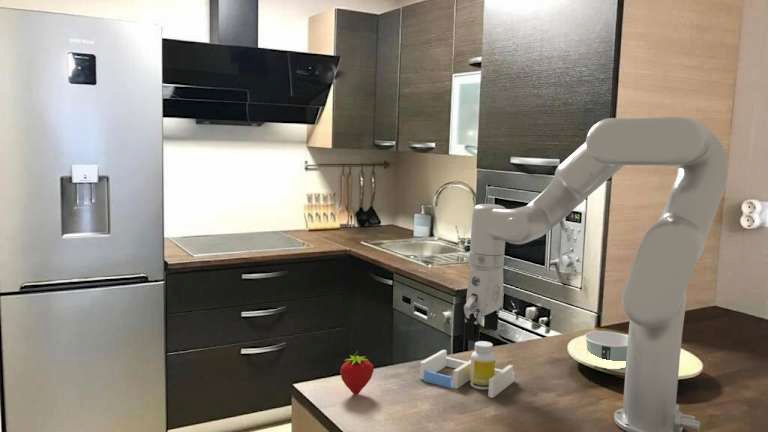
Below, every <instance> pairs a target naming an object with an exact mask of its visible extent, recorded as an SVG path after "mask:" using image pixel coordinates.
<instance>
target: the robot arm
mask: <svg viewBox="0 0 768 432" xmlns="http://www.w3.org/2000/svg"><path fill="white" fill-rule="evenodd" d="M585 138H586V139H585V142H584V143H583V144H581V145H580V146H579V147H578V148H577V149H576V150H574V152H573V153H572V154H571V155H569V156H567V158H566V159H565V160H563V161H562V162H561V163H560V164H559V165H558V166H557V167H556V169H555V171H554V177H553V179H552V180H551V182H550V184H549V185H548V186H547V187H546V188H545V189H544V190H543V191H542V192H541V193H540V194H539V195H538V196H536V197H535V198H534V199H533V200H532V201H531V202H529V203H528V204H527V205H524V206H519V207H515V208H506V207H505V206H503V205H501V204H496V203H495V204H494V203H479V204H476V205H475V206H474V207H473V210H472V217H471V229H470V230H471V232H470V245H469V262H468V266H469V267H470V269H469V270H470V271H469V275H468V282H467V290H466V298H465V301H466V302H465V304H464V305H463V312H464V322H465V325H464V328H465V330H464V339H465V340H467V341H470V342H475V343H476V342H479V341H480V332H481V331H480V329H481V324H480V319H481V317H482V314H483V315H484V316H483V317H484V318H483V329H484V330H488V331H491V332H492V331H493V332H497V331H498V326H499V325H498V324H499V315H500V311H501V310H500V308H501V307H502V306H503V304H504V264H505V263H504V262H505V249H506V243H509V244H514V245H523V244H526V243H530V242H532V241H534V240H537V239H540V238H542V237H543V236H544V235H546V234H547V233H549V232H550V231H551V230H552V229H553V228H554V227H556V226H557V225H558V224H559V223H560V222H562V221H563V220H564V219H565V218H567V217H568V216H569V214H571V213H572V212H573V211H574V210H575V209H576V208H577V207H578V206H579V205H581V204H582V203H583V202H584V201H585V200H587V198H588V197H589V196H590V195H592V194H593V193H594V192H595V191H597V190H598V189H599V188H600V187H601V186H603V184H605V182H606V181H608V180H609V179H611V178H612V176H613V177H614V176H615V174H616V173H618V172H619V171H620V170H621V169H623V168H624V167H625V166H666V167H667V166H668V167H669V166H670V167H674V166H676V167H677V170H676V171H677V172H676V176H675V179H674V182H673V184H672V186H671V189H670V191H669V195H668V197H667V201H666V204H665V206H664V208H663V210H662V213H661V215H660V218H659V220H657V222H655V223H654V224H653V225H652V226H651V227H649V229H648V230H647V231H646V233H645V234H644V236H643V238H642V240H641V242H640V245H639V247H638V250H637V254H636V255H635V258H634V261H633V263H632V266H631V269H630V272H629V273H628V277H627V279H626V283H625V285H624V288H623V291H622V296H621V302H622V308H623V311H624V313H625V315H626V317H627V318H628V319H629V325H628V333H627V334H628V335H627V336H628V345H627V358H626V368H625V375H624V385H623V386H624V387H623V401H622V407H621V408H619V409H616V410H615V411H614V413H613V422H614V423H615V425H616V426H618V428H621V429H622V430H623V431H625V432H684V431H683V430H684V428H685V429H688V430H691V431H695V432H699V431H700V426H701V421H700V420H696V416H695V415H690V414H685V413H683V412H682V411H680V405H679V404H677V395H678V394H677V393H678V384H679V370H680V359H681V358H680V357H681V353H682V352H681V349H682V339H683V329H684V321H685V313H686V306H687V297H688V296H687V287H688V284H689V283H690V279H691V276H692V274H693V273H694V269H695V267H696V265H697V262H698V260H699V259H700V257H701V256H702V254H703V252H704V250H705V246H706V241H707V239H708V235H709V233H710V229H711V227H712V225H713V222H714V219H715V216H716V214H717V210H718V208H719V205H720V202H721V200H722V197H723V194H724V192H725V189H726V184H727V181H728V176H729V175H728V173H729V162H728V156H727V153H726V150H725V148H724V145H723V144H722V142H721V141H720V139H719V138H718V137H717V135H716V134H715V133H714V132H713V131H712V130H710V129H709V127H707V126H706V125H704V124H703V123H702V122H701V121H698V120H696V119H692V118H689V117H681V116H669V117H668V116H665V117H663V116H662V117H635V118H633V117H632V118H629V117H628V118H627V117H626V118H619V117H609V118H604V119H601V120H600V121H597V122H596V123H595V124H594V125H593V126H592V127H590V129H589V131H587V135H586V137H585ZM475 315H476V316H475Z"/></svg>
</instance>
